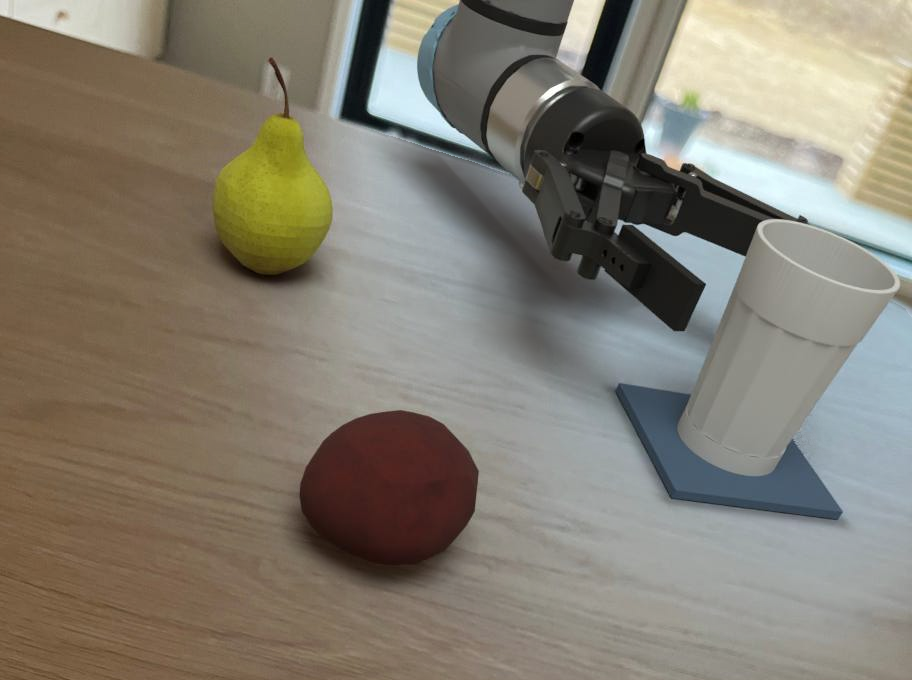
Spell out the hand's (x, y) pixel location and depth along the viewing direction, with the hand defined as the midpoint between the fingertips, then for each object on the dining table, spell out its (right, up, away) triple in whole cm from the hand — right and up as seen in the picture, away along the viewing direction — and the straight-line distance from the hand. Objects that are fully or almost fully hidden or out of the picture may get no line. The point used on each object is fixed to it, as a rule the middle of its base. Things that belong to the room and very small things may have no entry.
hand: (777, 307), depth 58 cm
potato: (-22, -14, -10) cm, 28 cm away
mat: (-2, -7, +5) cm, 9 cm away
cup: (-2, -7, +5) cm, 9 cm away
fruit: (-30, +4, +7) cm, 31 cm away
